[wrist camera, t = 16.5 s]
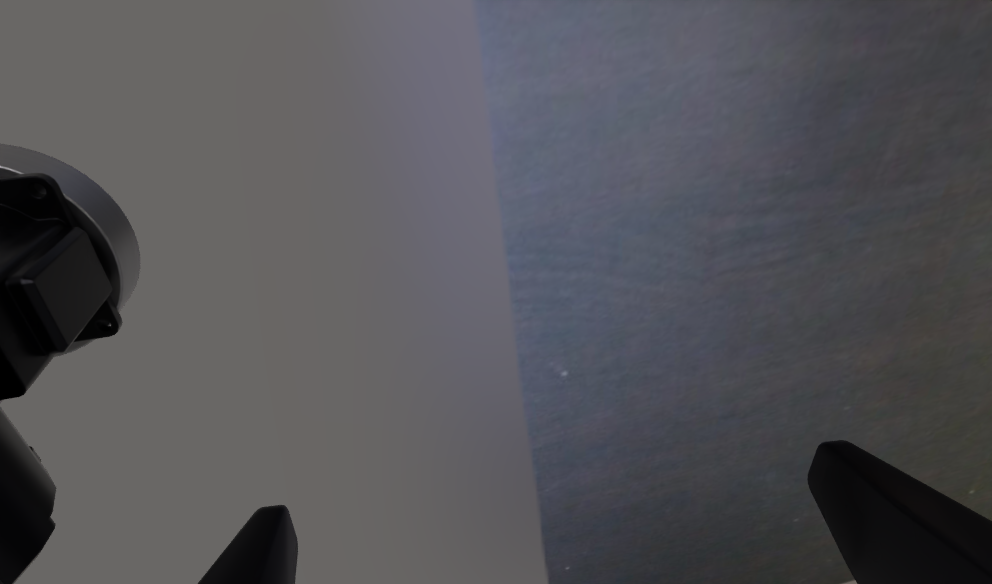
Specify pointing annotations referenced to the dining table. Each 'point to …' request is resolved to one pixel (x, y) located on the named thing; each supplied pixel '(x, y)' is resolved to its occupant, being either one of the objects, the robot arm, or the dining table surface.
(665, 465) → the dining table surface
